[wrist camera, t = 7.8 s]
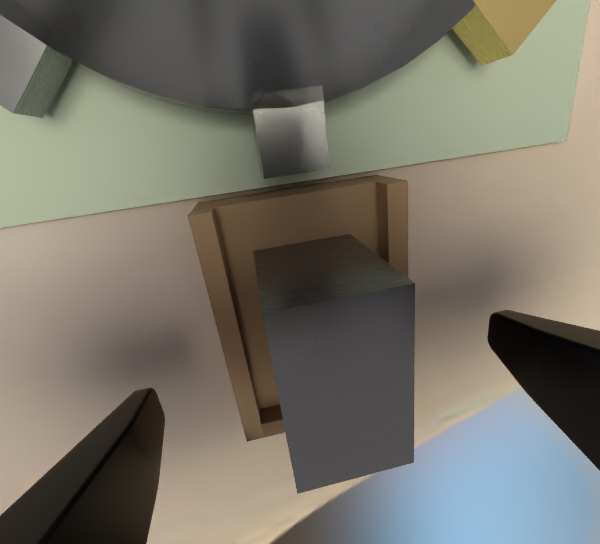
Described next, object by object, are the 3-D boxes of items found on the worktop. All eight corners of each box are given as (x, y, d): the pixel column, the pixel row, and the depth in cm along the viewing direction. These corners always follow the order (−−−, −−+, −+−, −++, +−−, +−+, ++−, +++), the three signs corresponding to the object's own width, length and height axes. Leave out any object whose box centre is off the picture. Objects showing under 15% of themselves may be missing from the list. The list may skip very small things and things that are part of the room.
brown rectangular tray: (383, 365, 14) (408, 401, 12) (245, 396, 13) (247, 441, 11) (376, 175, 11) (407, 180, 9) (197, 203, 10) (187, 216, 8)
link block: (359, 364, 12) (413, 462, 8) (278, 383, 11) (297, 494, 8) (349, 233, 10) (415, 283, 6) (253, 250, 10) (261, 313, 6)
